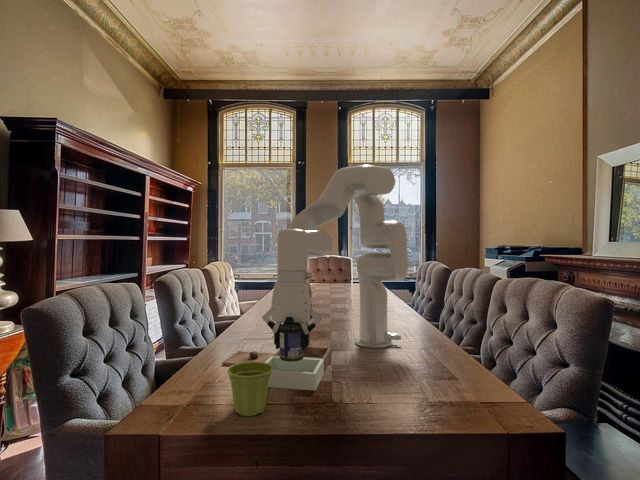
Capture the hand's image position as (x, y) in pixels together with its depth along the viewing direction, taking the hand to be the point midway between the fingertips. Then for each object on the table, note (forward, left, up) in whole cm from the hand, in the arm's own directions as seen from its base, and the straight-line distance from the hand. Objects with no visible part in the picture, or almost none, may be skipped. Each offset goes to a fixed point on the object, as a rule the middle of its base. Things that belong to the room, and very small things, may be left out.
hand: (291, 347), depth 95 cm
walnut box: (0, -13, -8) cm, 16 cm away
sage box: (0, 0, -8) cm, 8 cm away
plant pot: (+4, +19, -8) cm, 21 cm away
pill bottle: (0, 0, -3) cm, 3 cm away
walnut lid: (+15, -13, -8) cm, 22 cm away
